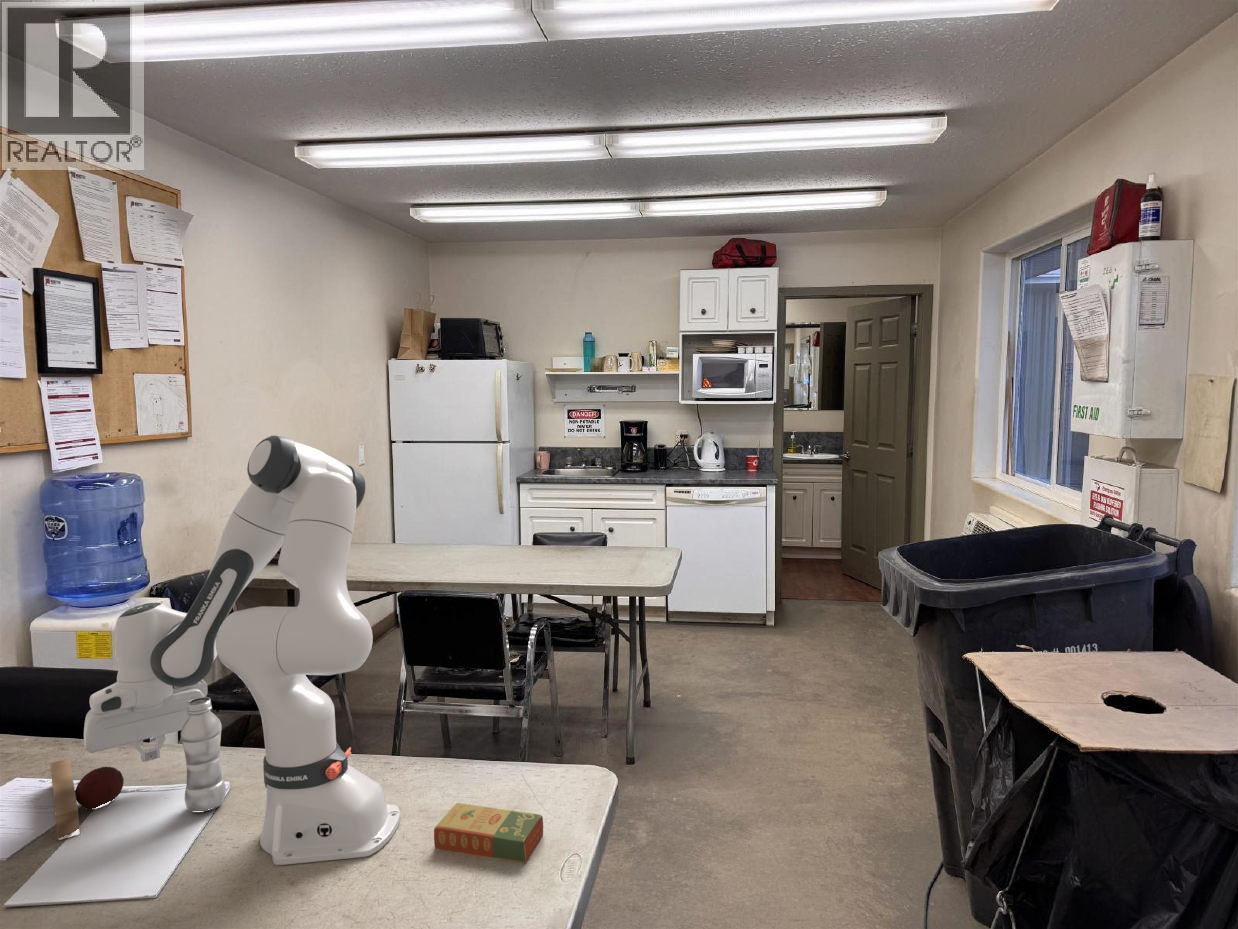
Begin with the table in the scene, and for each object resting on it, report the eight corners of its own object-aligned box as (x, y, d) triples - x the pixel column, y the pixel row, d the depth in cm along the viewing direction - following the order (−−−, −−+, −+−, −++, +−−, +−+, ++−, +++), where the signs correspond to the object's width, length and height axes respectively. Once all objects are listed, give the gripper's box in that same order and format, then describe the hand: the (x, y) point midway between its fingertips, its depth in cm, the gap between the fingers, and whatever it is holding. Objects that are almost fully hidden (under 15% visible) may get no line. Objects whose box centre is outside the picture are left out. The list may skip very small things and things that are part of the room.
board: (71, 780, 148) (69, 758, 148) (80, 834, 129) (77, 809, 129) (52, 785, 146) (50, 763, 146) (58, 841, 127) (56, 816, 127)
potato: (129, 788, 144) (126, 753, 144) (119, 811, 137) (116, 774, 136) (83, 797, 142) (80, 761, 141) (70, 820, 134) (67, 782, 133)
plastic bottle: (176, 814, 135) (168, 706, 133) (208, 795, 141) (200, 692, 140) (204, 820, 133) (196, 711, 131) (235, 800, 139) (228, 696, 138)
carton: (458, 824, 131) (457, 800, 131) (544, 836, 127) (544, 812, 127) (434, 852, 123) (433, 827, 123) (525, 866, 119) (524, 840, 119)
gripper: (202, 671, 153) (207, 737, 154) (79, 698, 140) (85, 770, 141) (210, 680, 148) (214, 748, 150) (83, 708, 135) (88, 782, 136)
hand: (150, 759), depth 145 cm, fingers closed
